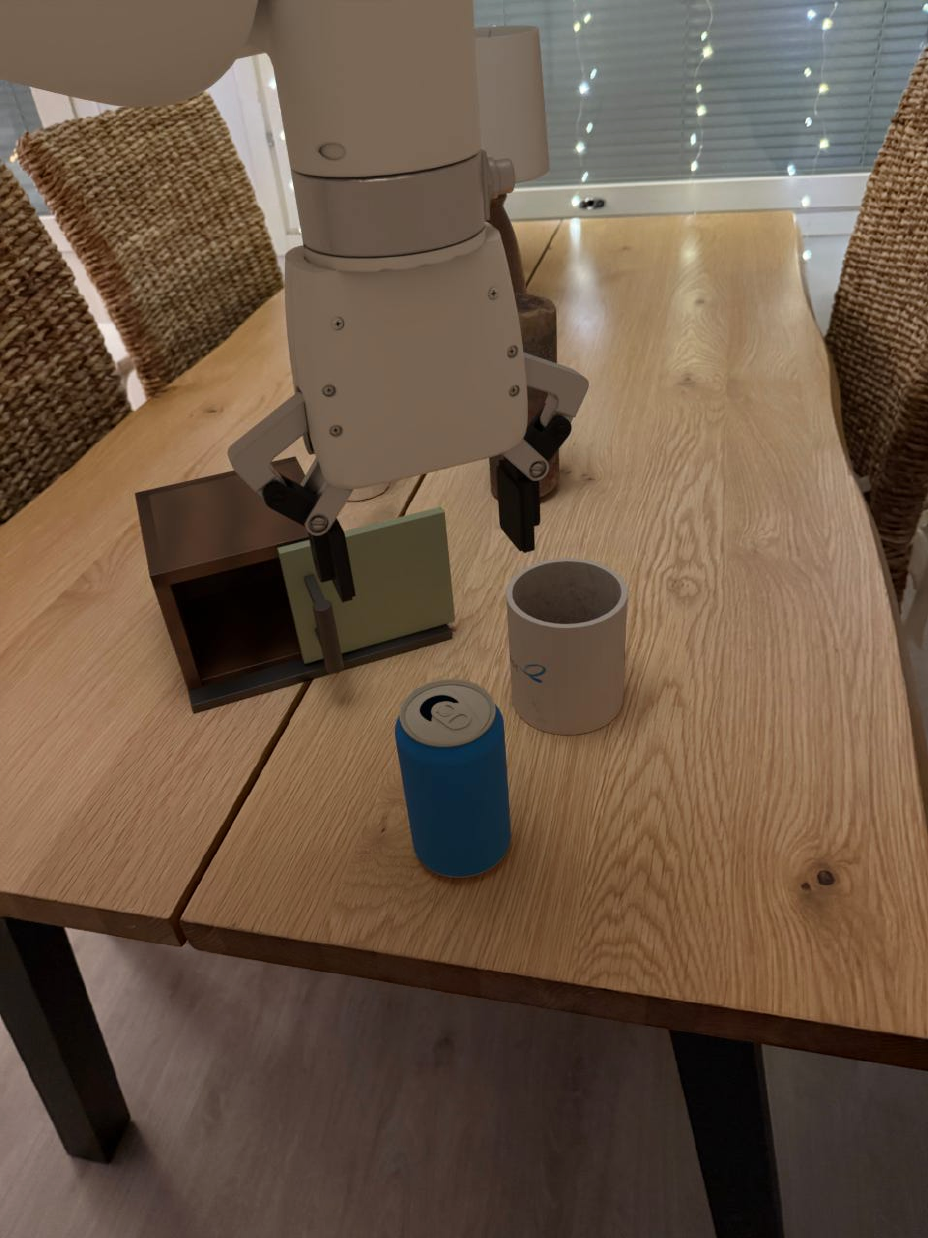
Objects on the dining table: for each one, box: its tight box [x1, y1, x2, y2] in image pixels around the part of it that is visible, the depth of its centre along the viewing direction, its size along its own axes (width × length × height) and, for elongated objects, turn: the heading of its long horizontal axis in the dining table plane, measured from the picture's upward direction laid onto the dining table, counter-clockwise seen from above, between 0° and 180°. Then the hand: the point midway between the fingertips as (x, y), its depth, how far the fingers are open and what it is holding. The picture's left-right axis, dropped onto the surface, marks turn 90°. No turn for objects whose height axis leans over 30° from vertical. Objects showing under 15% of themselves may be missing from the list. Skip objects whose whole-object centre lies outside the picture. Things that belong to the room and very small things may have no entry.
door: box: [277, 506, 456, 674], centre depth 72 cm, size 13×6×11 cm, turn 111°
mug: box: [505, 557, 629, 736], centre depth 70 cm, size 12×9×10 cm
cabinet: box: [134, 455, 453, 714], centre depth 78 cm, size 22×16×12 cm
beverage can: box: [394, 678, 512, 878], centre depth 57 cm, size 6×6×12 cm
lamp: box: [474, 24, 550, 294], centre depth 135 cm, size 19×19×37 cm
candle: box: [488, 293, 560, 499], centre depth 92 cm, size 8×7×20 cm
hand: (431, 562), depth 47 cm, fingers open, 9 cm apart
